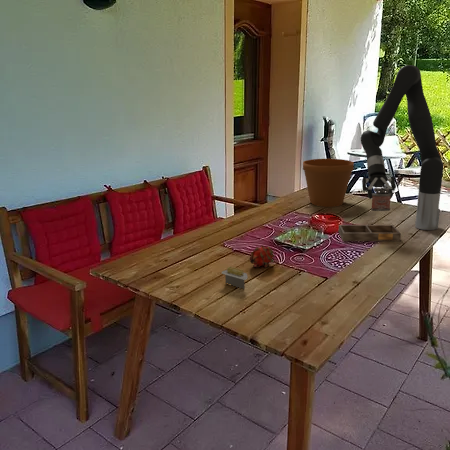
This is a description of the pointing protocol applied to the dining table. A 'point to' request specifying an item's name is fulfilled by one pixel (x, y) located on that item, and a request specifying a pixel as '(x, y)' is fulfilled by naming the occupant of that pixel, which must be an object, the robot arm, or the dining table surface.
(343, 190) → the flowerpot
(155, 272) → the dining table surface
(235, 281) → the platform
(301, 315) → the dining table surface
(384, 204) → the lighter
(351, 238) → the divided wooden tray
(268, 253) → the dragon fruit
